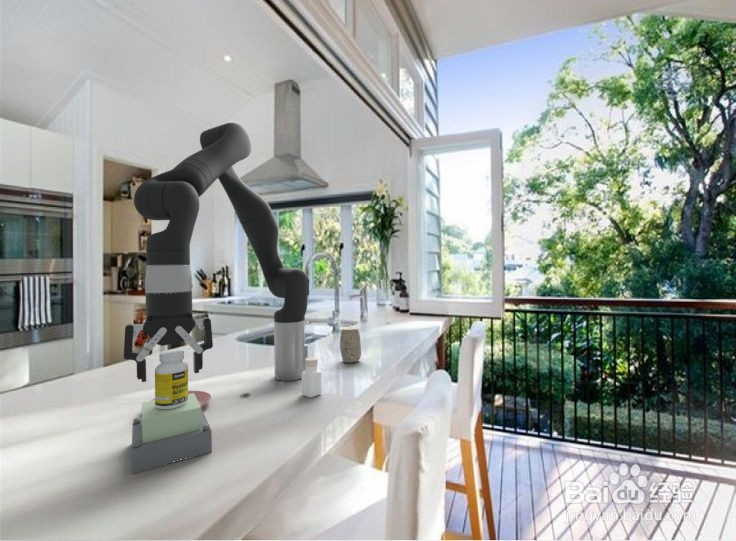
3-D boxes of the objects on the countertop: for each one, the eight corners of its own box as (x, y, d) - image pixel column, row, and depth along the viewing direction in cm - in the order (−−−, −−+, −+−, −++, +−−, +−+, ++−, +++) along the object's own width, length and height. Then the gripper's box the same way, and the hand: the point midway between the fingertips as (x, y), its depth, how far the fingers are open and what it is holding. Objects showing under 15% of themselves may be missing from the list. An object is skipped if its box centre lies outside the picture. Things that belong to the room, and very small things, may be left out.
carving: (339, 359, 127) (339, 326, 126) (360, 358, 127) (360, 326, 127) (340, 364, 120) (339, 329, 120) (361, 363, 121) (361, 329, 121)
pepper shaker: (300, 395, 91) (300, 358, 91) (313, 391, 94) (312, 356, 94) (310, 398, 89) (310, 361, 89) (322, 394, 92) (322, 358, 92)
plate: (167, 398, 91) (167, 390, 91) (221, 398, 90) (221, 390, 90) (127, 422, 76) (127, 413, 76) (191, 422, 76) (191, 413, 76)
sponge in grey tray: (201, 427, 73) (201, 389, 73) (211, 452, 63) (211, 408, 63) (132, 443, 67) (132, 401, 67) (132, 474, 57) (131, 425, 57)
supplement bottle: (173, 411, 62) (173, 356, 62) (147, 409, 63) (147, 355, 63) (194, 400, 67) (194, 349, 67) (170, 398, 68) (169, 348, 68)
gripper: (207, 287, 72) (208, 365, 72) (123, 290, 64) (124, 378, 64) (214, 288, 66) (215, 374, 66) (121, 292, 58) (123, 390, 58)
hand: (170, 376), depth 65 cm, fingers open, 8 cm apart
